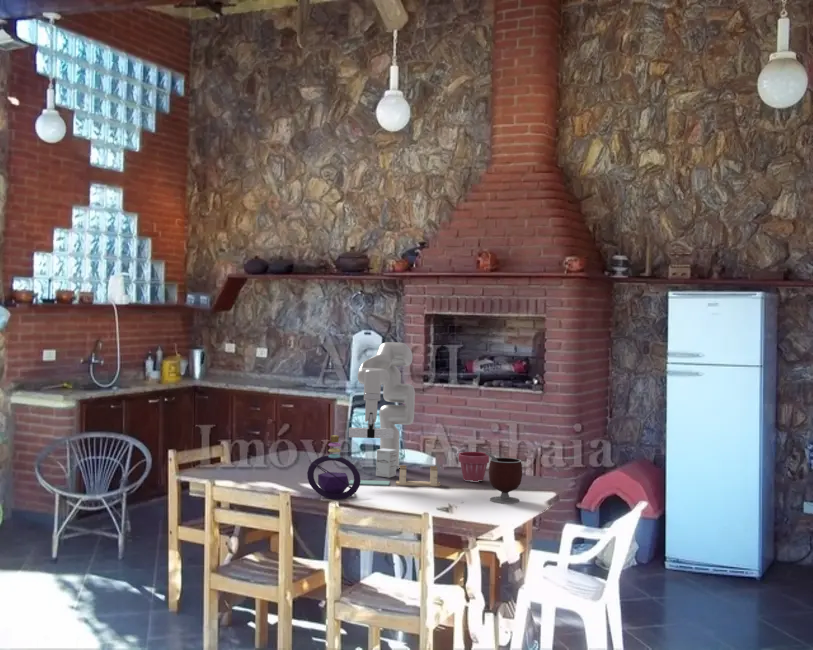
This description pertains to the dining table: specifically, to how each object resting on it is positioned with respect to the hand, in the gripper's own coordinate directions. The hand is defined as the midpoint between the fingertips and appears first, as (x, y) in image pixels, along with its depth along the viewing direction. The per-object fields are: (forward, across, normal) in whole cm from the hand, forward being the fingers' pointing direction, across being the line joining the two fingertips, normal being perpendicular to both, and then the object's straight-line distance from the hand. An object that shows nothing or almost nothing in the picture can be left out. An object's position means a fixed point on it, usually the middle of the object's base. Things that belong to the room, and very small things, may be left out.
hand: (371, 436), depth 397 cm
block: (0, 0, 0) cm, 0 cm away
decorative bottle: (+21, +29, -14) cm, 38 cm away
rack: (+21, 0, +22) cm, 30 cm away
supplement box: (+21, -20, +7) cm, 30 cm away
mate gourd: (+21, +31, +57) cm, 68 cm away
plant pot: (+21, -13, +48) cm, 54 cm away
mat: (+21, 0, 0) cm, 21 cm away
